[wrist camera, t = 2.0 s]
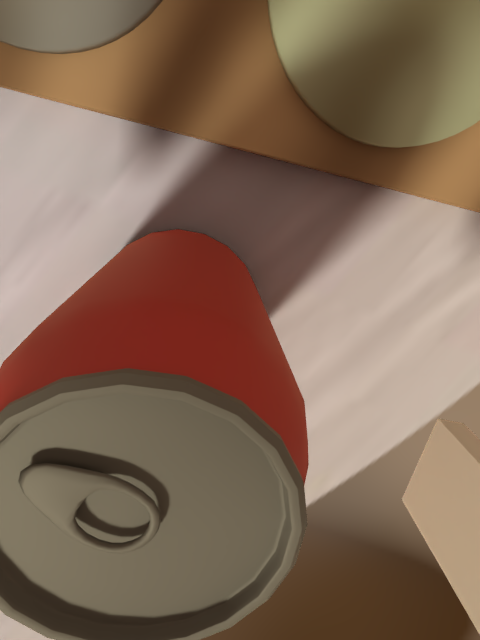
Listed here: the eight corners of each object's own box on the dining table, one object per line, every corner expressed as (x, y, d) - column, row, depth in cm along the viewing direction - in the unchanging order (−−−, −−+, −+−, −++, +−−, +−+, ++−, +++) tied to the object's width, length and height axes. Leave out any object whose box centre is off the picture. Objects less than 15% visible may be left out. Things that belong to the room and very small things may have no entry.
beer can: (159, 192, 16) (48, 238, 5) (287, 289, 18) (424, 490, 7) (71, 320, 18) (-170, 584, 6) (197, 399, 19) (184, 716, 8)
